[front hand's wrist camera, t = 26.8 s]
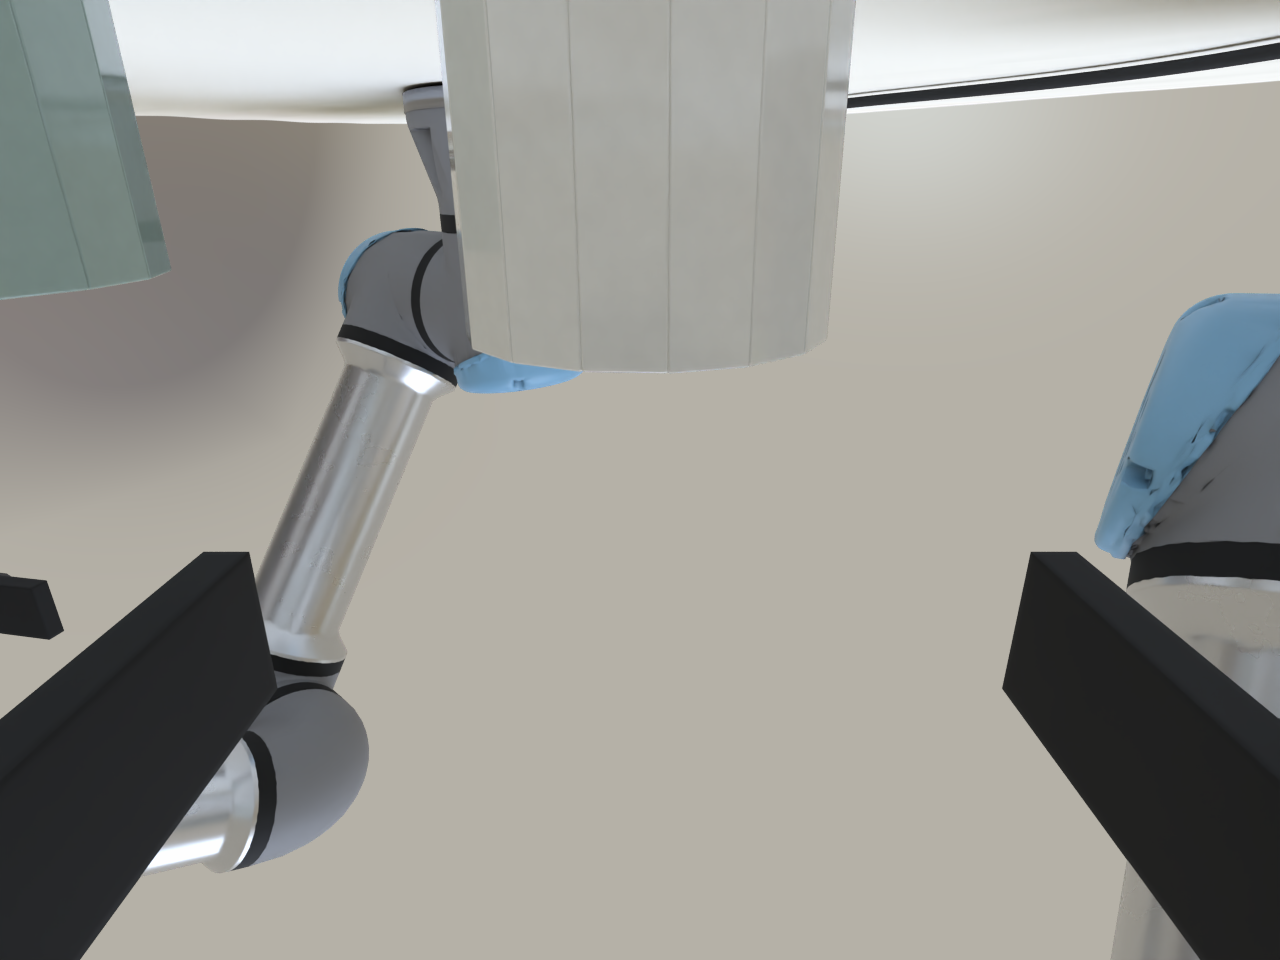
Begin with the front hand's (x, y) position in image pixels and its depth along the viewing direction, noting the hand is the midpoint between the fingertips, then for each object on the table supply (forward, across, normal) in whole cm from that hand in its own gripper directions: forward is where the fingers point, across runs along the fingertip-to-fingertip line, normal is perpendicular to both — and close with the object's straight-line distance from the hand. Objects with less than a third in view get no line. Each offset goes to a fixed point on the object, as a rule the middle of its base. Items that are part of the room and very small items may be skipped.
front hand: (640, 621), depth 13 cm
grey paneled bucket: (+10, 0, -14) cm, 17 cm away
